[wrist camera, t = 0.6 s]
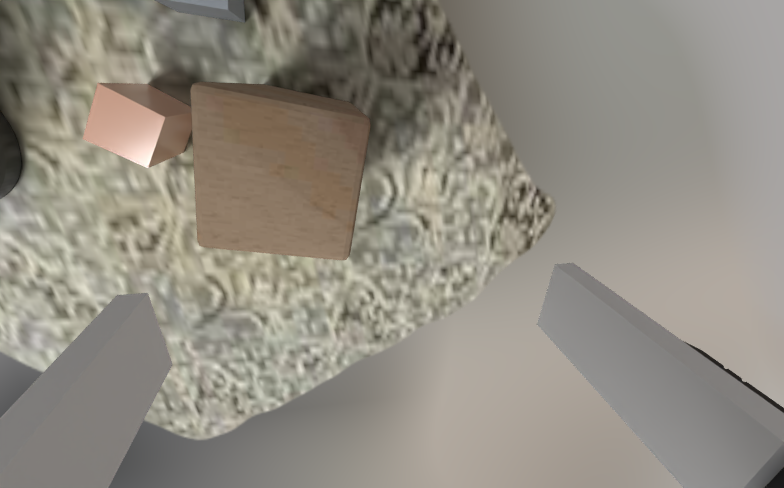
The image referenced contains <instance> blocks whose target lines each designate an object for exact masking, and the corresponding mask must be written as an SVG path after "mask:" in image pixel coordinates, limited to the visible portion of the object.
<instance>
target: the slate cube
mask: <svg viewBox="0 0 784 488" xmlns="http://www.w3.org/2000/svg"><path fill="white" fill-rule="evenodd" d="M155 1H157V2H159V3H161V4H163V5H165V6H167V7H169V8H171V9H173V10H175V11H177V12H182V13H188V14H194V15H201V16H207V17H213V18H220V19H226V20H232V21H239V22H245V12H244V0H155Z"/></svg>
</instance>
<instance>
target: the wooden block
mask: <svg viewBox="0 0 784 488" xmlns="http://www.w3.org/2000/svg"><path fill="white" fill-rule="evenodd" d="M190 94H191V115H192V136H193V157H194V178H195V199H196V220H197V240H198V243H199V245H200V246H202V247H207V248H218V249H228V250H239V251H249V252H260V253H270V254H281V255H291V256H302V257H312V258H323V259H333V260H347V258H348V257H349V255H350V251H351V244H352V238H353V232H354V226H355V220H356V213H357V207H358V201H359V195H360V189H361V182H362V176H363V170H364V164H365V157H366V151H367V145H368V139H369V133H370V126H371V124H370V119H369V118H368V117H367V116H366V115H365V114H363V113H362V112H361V111H360V110H359V109H357V108H356V107H355V106H354V105H353V104H351V103H350V102H346V101H342V100H337V99H332V98H327V97H322V96H318V95H313V94H308V93H303V92H298V91H294V90H289V89H284V88H279V87H274V86H270V85H265V84H241V83H216V82H197V83H193V84H192V87H191V89H190Z"/></svg>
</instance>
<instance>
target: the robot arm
mask: <svg viewBox="0 0 784 488" xmlns="http://www.w3.org/2000/svg"><path fill="white" fill-rule="evenodd" d="M20 170H21V154H20V149H19V145H18V142H17V139H16V137H15V134H14V132H13V130H12V128H11V126H10V125H9V123H8V121H7V120H6V118H5V117H4V116H3V114H2V113H1V112H0V198H2V197H4V196H5V195H6V194H7V193H8V192H9V191H10V190H11V189H12V188H13V187H14V185H15V184H16V182H17V180H18V177H19V174H20ZM537 325H538V326H539V327H540V328H541V329H542V330H543V331H544V333H545V334H546V335H547V336H548V337H549V338H550V339H551V341H553V343H554V344H555V345H556V346H557V347H558V348H559V349H560V351H561V352H562V353H563V354H564V355H565V356H566V357H567V358H568V359H569V360H570V362H571V363H572V364H573V365H574V366H575V367H576V368H577V369H578V371H579V372H580V373H581V374H582V375H583V376H584V377H585V378H586V380H588V382H589V383H590V384H591V385H592V386H593V387H594V388H595V390H596V391H597V392H598V393H599V394H600V395H601V396H602V397H603V398H604V400H605V401H606V402H607V403H608V404H609V405H610V406H611V407H612V409H613V410H615V412H616V413H617V414H618V415H619V416H620V417H621V419H623V421H624V422H625V423H626V424H627V425H628V426H629V427H630V429H631V430H632V431H633V432H634V433H635V434H636V435H637V436H638V438H639V439H640V440H641V441H642V442H643V443H644V444H645V445H646V446H647V447H648V449H649V450H650V451H651V452H652V453H653V454H654V455H655V457H656V458H657V459H658V460H659V461H660V462H661V463H662V464H663V465H664V466H665V468H666V469H667V470H668V471H669V472H670V473H671V474H672V475H673V476H674V478H675V479H676V480H677V481H678V482H679V483H680V484H681V486H682V487H683V488H784V408H783V407H782V406H780V405H779V404H777V403H776V402H774V401H773V400H772V399H770V398H769V397H767V396H766V395H764V394H763V393H762V392H760V391H759V390H757V389H756V388H755V387H753V386H752V385H750V384H749V383H747V382H743V381H742V379H741V378H740V377H739V376H737V375H736V374H735V373H733V372H732V371H730V370H729V369H725V368H724V366H723V365H722V364H720V363H719V362H718V361H716V360H715V359H713V358H712V357H710V356H709V355H708V354H706V353H705V352H703V351H702V350H700V349H698V348H696V347H694V346H692V345H690V344H688V343H686V342H684V341H682V340H681V339H679V338H678V337H676V336H675V335H674V334H672V333H671V332H669V331H668V330H666V329H665V328H664V327H662V326H661V325H660V324H658V323H657V322H655V321H654V320H652V319H651V318H650V317H648V316H647V315H646V314H644V313H643V312H641V311H640V310H638V309H637V308H635V307H634V306H633V305H631V304H630V303H628V302H627V301H626V300H624V299H623V298H622V297H620V296H619V295H617V294H616V293H615V292H613V291H612V290H610V289H609V288H608V287H606V286H605V285H603V284H602V283H601V282H599V281H598V280H596V279H595V278H594V277H592V276H591V275H589V274H588V273H587V272H585V271H584V270H582V269H581V268H580V267H578V266H577V265H575V264H574V263H567V264H555V266H554V270H553V273H552V276H551V279H550V283H549V286H548V289H547V293H546V296H545V300H544V303H543V306H542V310H541V313H540V316H539V320H538V323H537ZM171 366H172V361H171V358H170V356H169V353H168V350H167V347H166V344H165V341H164V338H163V335H162V332H161V330H160V327H159V324H158V321H157V318H156V315H155V312H154V309H153V307H152V304H151V301H150V298H149V295H148V293H141V294H127V295H117V296H116V297H115V298H114V299H113V300H112V301H111V302H110V303H109V304H108V305H107V306H106V307H105V308H104V309H103V311H102V312H101V313H100V314H99V315H98V316H97V317H96V318H95V319H94V320H93V321H92V322H91V323H90V324H89V325H88V326H87V327H86V328H85V329H84V331H83V332H82V333H81V334H80V335H79V336H78V337H77V338H76V339H75V340H74V341H73V342H72V343H71V344H70V345H69V346H68V347H67V348H66V349H65V351H64V352H63V353H62V354H61V355H60V356H59V357H58V358H57V359H56V360H55V361H54V362H53V363H52V364H51V365H50V366H49V367H48V368H47V369H46V371H45V372H44V373H43V374H42V375H41V376H40V377H39V378H38V379H37V380H36V381H35V382H34V383H33V384H32V385H31V386H30V387H29V389H27V390H26V392H25V393H24V394H23V395H22V396H21V397H20V398H19V399H18V400H17V401H16V402H15V403H14V404H13V405H12V406H11V408H9V409H8V410H7V412H6V413H5V414H4V415H3V416H2V417H1V418H0V488H108V487H109V485H110V483H111V481H112V479H113V477H114V476H115V474H116V472H117V470H118V468H119V466H120V464H121V462H122V460H123V458H124V456H125V454H126V453H127V450H128V449H129V447H130V445H131V443H132V441H133V439H134V437H135V435H136V433H137V431H138V429H139V428H140V425H141V424H142V422H143V420H144V418H145V416H146V414H147V412H148V410H149V408H150V406H151V405H152V403H153V401H154V399H155V397H156V395H157V393H158V391H159V389H160V387H161V385H162V383H163V382H164V380H165V378H166V376H167V374H168V372H169V370H170V368H171Z"/></svg>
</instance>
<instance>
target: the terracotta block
mask: <svg viewBox="0 0 784 488" xmlns="http://www.w3.org/2000/svg"><path fill="white" fill-rule="evenodd" d="M191 131H192V115H191V107H190V106H188V105H186V104H185V103H183V102H181V101H179V100H177V99H175V98H173V97H171V96H169V95H168V94H166V93H164V92H162V91H160V90H158V89H156V88H154V87H153V86H151V85H149V84H124V83H98V84H97V88H96V91H95V95H94V99H93V103H92V106H91V110H90V114H89V117H88V121H87V125H86V129H85V132H84V136H83V139H84V140H86V141H88V142H91V143H93V144H95V145H97V146H100V147H102V148H104V149H106V150H109V151H111V152H113V153H115V154H117V155H120V156H122V157H124V158H126V159H129V160H131V161H133V162H135V163H138V164H140V165H142V166H144V167H146V168H149V167H152V166H154V165H156V164H158V163H161V162H163V161H165V160H167V159H170V158H172V157H174V156H176V155H179V154H181V153H183V152H184V150H185V147H186V145H187V142H188V139H189V137H190V134H191Z"/></svg>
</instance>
